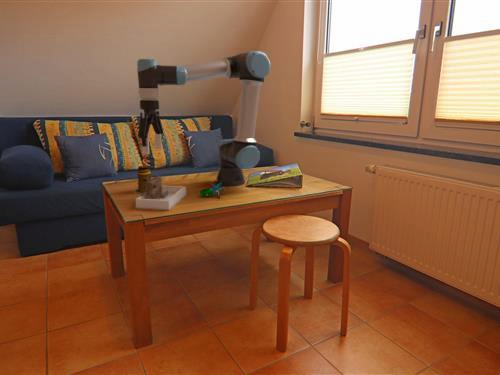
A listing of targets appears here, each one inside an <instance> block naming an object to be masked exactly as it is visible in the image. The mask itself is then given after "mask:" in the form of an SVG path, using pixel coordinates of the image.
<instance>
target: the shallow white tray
mask: <svg viewBox="0 0 500 375" xmlns="http://www.w3.org/2000/svg"><path fill="white" fill-rule="evenodd" d="M186 189H187V187H186V186H179V185H178V186H176V185H162V197H161V198H160V197H157V198H156V199H146V193H140V195H139V196H138V197H136V198H135V209H137V210H138V209H140V210H155V211H157V210H158V211H170V210H171V209H173V207H175V206H176V205H177V204H178V203H179V202H180V201H181V200H182V199H183V198H185V197H186V196H187V191H186Z"/></svg>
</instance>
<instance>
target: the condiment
mask: <svg viewBox="0 0 500 375" xmlns="http://www.w3.org/2000/svg"><path fill="white" fill-rule="evenodd" d="M150 167H151V166H149V165H141V166H138V167H137V185H138V187H137V188H134V190H133V194H143V193H146V184H145V182H147V181H148V180H150V179H152V176H151V175H152V174H151V173H152V172H151V170H150V169H151V168H150Z"/></svg>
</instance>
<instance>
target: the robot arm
mask: <svg viewBox="0 0 500 375" xmlns="http://www.w3.org/2000/svg"><path fill="white" fill-rule="evenodd" d="M136 65H137V68H136V69H137V70H136V71H137V79H138V92H137V94H139V99H140V101H139V109H140V110H143V112H140V116H139V118H140V119H139V127H138V134H137V137H138V138H139V139H140V142H141V143H140V144H141V153H142V155H150V141H149V140H150V139H149V136H148V135H149V132H150V129H151V128H150V127H152V129H153V132H154V148H155V150H162V149H163V148H162V147H163V146H162V135H163V134H164V129H163V125H162V121H161V118H160V111H159V110H160V101H159V98H160V96H159V86H184V85H186V83H189V82H197V81H205V80H212V79H217V78H218V79H219V78H224V79H227V80H228V79H238V81H239V83H240V84H241V90H240V92H241V93H240V101H239V111H238V121H237V130H236V136H235V137H234V138H229V139H221V140H220V141H219V144H218V145H219V146H218V148H219V149H218V153H219V154H218V156H219V169H218V172H217V174H216V179H215V180H216V181H215V182H216V184H217V183H218V184H220V183H221V182H222V184H220V185H219V186H228V187H232V186H235V187H236V186H241V185H243V184H245V183H246V180H245V175H244V172H243V170H251V169H254V167H255V166H257V165H258V163H259V161H260V157H261V156H260V155H261V153H260V151H259V149H258V148H257V147H258V146H257V145H258V141H257V140H256V138H255V137H256V136H255V135H256V126H257V119H258V118H257V117H258V109H259V108H258V107H259V100H260V91H261V87H262V86H263V85H264V84H265V78H266V77H267V76H268V75H269V73H270V71H271V62H270V59H269V58H268V55H267V54H266V53H265V52H263V51H260V50H259V51H258V50H251V51H248V52H243V53H239V54H235V55H232V56H229V57H223V58H222V59H221V60H214V61H206V62H197V63H196V62H195V63H188V64H181V65H180V64H179V65H160V64H158V63H157V60H156V59H154V58H153V59H152V58H139V59H138V60H137V64H136Z"/></svg>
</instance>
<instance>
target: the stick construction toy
mask: <svg viewBox="0 0 500 375" xmlns="http://www.w3.org/2000/svg"><path fill="white" fill-rule="evenodd" d="M220 184H222V182H221V183H220ZM220 184H218V183H216V185H214V183H211V186H212V188H203V189H201V190H200V191H199V193H198V194H199V196H202V197H203V196H204V197H205V196H206V197H207V198H209V197H210V196H211V197H212V196H213V195H217V199H221V198H220V196H221V195H222V194H221V193H222V192H220V191H221V190H223V191H224V189H225V188H226V187H225V185H223V187H220V186H221V185H220Z"/></svg>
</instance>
